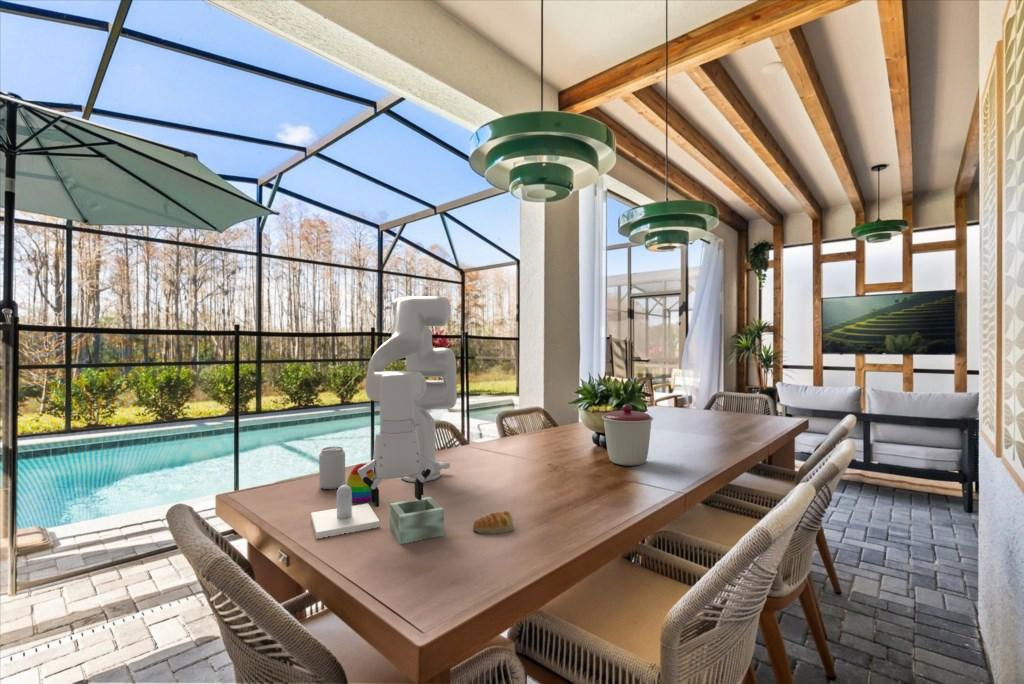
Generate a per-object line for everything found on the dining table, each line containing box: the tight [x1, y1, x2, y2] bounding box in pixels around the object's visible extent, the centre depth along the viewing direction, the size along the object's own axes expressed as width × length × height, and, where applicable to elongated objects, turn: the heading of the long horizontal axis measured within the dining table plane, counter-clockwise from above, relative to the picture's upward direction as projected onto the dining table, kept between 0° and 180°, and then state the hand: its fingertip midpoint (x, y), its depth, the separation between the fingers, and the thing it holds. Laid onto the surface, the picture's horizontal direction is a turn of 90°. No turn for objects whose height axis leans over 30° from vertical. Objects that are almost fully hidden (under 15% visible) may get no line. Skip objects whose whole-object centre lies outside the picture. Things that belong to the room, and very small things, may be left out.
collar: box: [389, 496, 445, 545], centre depth 110 cm, size 10×10×6 cm
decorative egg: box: [346, 463, 375, 503], centre depth 133 cm, size 8×8×10 cm
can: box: [318, 445, 346, 490], centre depth 145 cm, size 8×8×12 cm
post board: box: [310, 484, 380, 540], centre depth 116 cm, size 14×14×9 cm
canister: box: [601, 403, 654, 467], centre depth 171 cm, size 18×18×21 cm
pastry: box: [472, 510, 515, 535], centre depth 112 cm, size 9×7×4 cm
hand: (397, 502), depth 107 cm, fingers open, 9 cm apart
